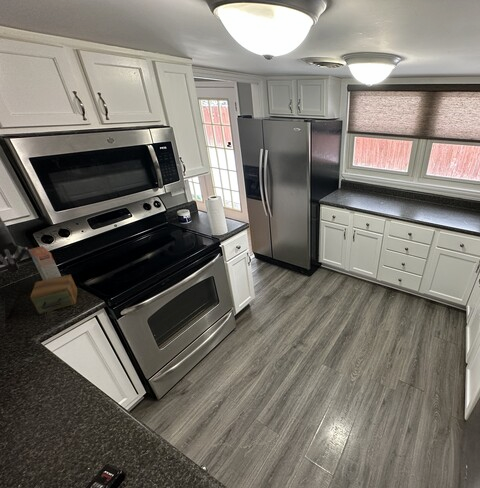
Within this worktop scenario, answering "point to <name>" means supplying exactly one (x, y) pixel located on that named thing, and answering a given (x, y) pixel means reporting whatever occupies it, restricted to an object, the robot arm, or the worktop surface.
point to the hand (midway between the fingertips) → (15, 271)
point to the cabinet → (55, 288)
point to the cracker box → (44, 263)
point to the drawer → (52, 301)
